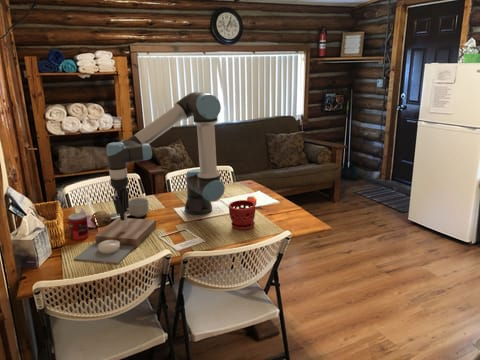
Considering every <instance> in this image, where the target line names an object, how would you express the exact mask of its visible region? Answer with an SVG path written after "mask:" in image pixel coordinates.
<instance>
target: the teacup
mask: <svg viewBox="0 0 480 360" xmlns="http://www.w3.org/2000/svg"><path fill="white" fill-rule="evenodd" d="M127 210H129V211H128V212H127V213H128V214H129V215H131V216H133V217H134V216H135V217H134V218H142V217H144V216H146V215H147V214H148V213H149V210H150V209H149V199H148V198H144V197H138V198H132V199H129V209H127Z"/></svg>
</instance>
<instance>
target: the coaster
mask: <svg viewBox="0 0 480 360" xmlns="http://www.w3.org/2000/svg"><path fill="white" fill-rule="evenodd" d="M119 249H120V242H119V241H118V240H106V241H103V242H101V243H99V244H98V250H99V253H102V254H111V253H114V252H117V251H118V250H119Z"/></svg>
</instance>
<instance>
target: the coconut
mask: <svg viewBox="0 0 480 360" xmlns="http://www.w3.org/2000/svg"><path fill="white" fill-rule="evenodd" d="M94 215H95V216H94ZM91 216H92V218H91V219H90V221H92V222H93V224H94V225H95V227H97V226H96V222H95V218H96V220H97V223H98V225H99V226H98V227H102V226H103V227H106V225H107V226H108V225H109V224H111V223H112V216H111V214H109V213H107V212H106V211H104V210H103V211H102V210H99V211H96V212H94V213H93V214H92V215H91Z"/></svg>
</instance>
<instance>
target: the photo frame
mask: <svg viewBox="0 0 480 360" xmlns="http://www.w3.org/2000/svg"><path fill="white" fill-rule="evenodd" d="M182 231H186V232H187V233H188V232H189V233H188V234H190V233H191V234H190V235H192V236H193V235H194V236H193V237H194V238H193V239H190V240H186V241H183V242H180V243H177V244H174V245H173V244H172V243H170V242H168V241H167V240H165V239H164V238H163V237H165V236H167V235H169V236H170V235H171V234H175V233H178V232H182ZM196 237H197V238H196ZM158 238H159V239H160V240H161V241H163V243H165V244H167V245H168V246H169V245H170V246H169V247H170V248H174V250H175V251H176V252H180V251H184V250H185V249H186V250H187V249H188V248H189V249H190V248H192V247H194V246H193V245H195V246H197V245H196V244H198V245H200V244H199V243H201V244H203V243H202V242H204V243H206V240H205V239H202V237H200V236H198V235H196V234H195V233H193V232H192V231H190V230H188V229H187V228H182V229H179V230H175V231H172V232H169V233H166V234H163V235H159V236H158ZM191 246H192V247H191Z"/></svg>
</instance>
